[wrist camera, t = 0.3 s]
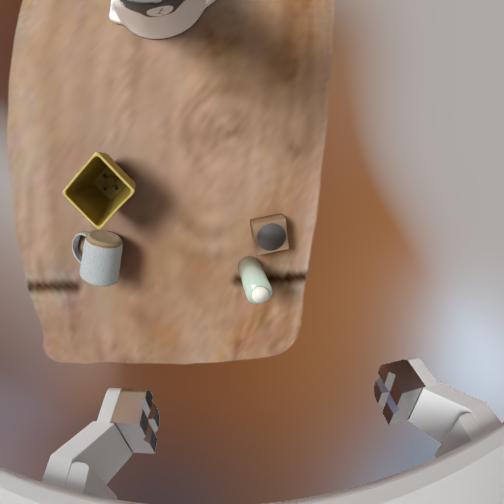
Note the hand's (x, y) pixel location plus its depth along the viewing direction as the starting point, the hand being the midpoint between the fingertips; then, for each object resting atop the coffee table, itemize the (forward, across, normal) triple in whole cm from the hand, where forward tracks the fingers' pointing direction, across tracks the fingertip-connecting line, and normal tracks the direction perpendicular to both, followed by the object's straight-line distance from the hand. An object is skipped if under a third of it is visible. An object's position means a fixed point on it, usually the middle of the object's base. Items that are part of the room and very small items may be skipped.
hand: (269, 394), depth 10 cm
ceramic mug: (+46, +26, +10) cm, 53 cm away
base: (+48, -6, +10) cm, 50 cm away
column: (+48, -2, +17) cm, 51 cm away
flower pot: (+45, +21, -2) cm, 50 cm away
